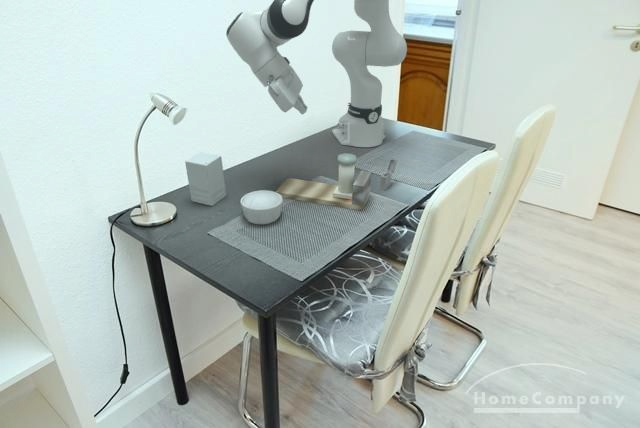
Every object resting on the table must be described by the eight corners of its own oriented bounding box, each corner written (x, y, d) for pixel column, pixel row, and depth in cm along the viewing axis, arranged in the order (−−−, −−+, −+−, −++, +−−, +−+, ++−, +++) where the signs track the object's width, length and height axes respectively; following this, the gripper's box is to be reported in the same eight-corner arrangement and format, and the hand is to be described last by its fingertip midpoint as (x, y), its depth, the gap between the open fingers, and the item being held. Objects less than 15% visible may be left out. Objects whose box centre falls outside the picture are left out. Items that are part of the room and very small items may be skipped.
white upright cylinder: (332, 196, 128) (333, 159, 123) (338, 187, 133) (339, 151, 128) (353, 199, 127) (354, 162, 121) (358, 190, 132) (360, 154, 126)
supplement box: (226, 195, 132) (222, 155, 126) (211, 206, 127) (206, 165, 120) (206, 190, 135) (201, 151, 129) (190, 201, 129) (184, 160, 123)
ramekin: (238, 210, 125) (236, 193, 122) (276, 203, 129) (275, 187, 126) (247, 230, 116) (245, 212, 113) (288, 222, 120) (288, 205, 117)
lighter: (384, 190, 136) (386, 166, 132) (379, 189, 137) (381, 164, 133) (395, 182, 141) (397, 158, 137) (390, 180, 142) (392, 157, 138)
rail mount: (275, 196, 132) (274, 173, 128) (288, 182, 140) (287, 159, 137) (362, 210, 125) (363, 186, 121) (370, 194, 133) (371, 171, 130)
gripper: (275, 74, 112) (309, 117, 117) (287, 56, 129) (317, 94, 134) (256, 89, 114) (291, 131, 119) (271, 69, 132) (301, 106, 137)
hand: (305, 111), depth 127 cm, fingers closed
